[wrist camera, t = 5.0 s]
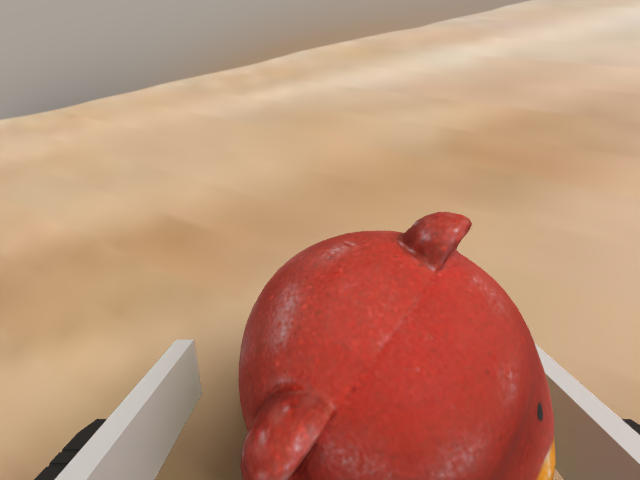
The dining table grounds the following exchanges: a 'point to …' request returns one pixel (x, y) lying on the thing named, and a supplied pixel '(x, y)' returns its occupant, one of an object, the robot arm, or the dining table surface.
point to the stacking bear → (392, 366)
